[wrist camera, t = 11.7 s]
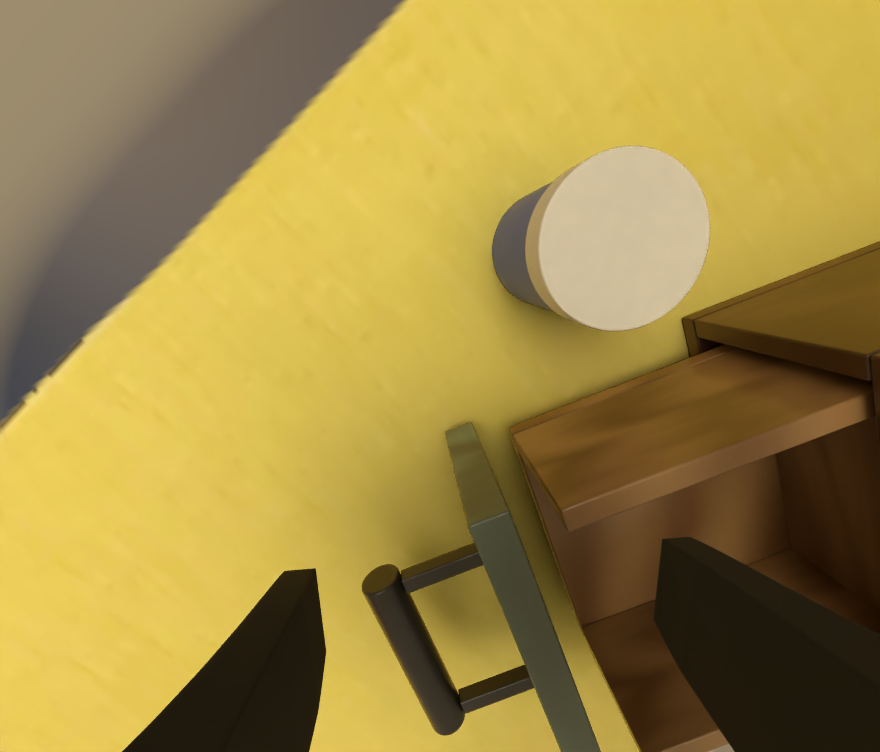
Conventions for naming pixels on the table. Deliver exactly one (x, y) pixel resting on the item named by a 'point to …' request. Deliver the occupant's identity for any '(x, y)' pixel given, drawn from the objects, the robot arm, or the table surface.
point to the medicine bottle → (607, 240)
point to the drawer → (654, 531)
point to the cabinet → (806, 319)
